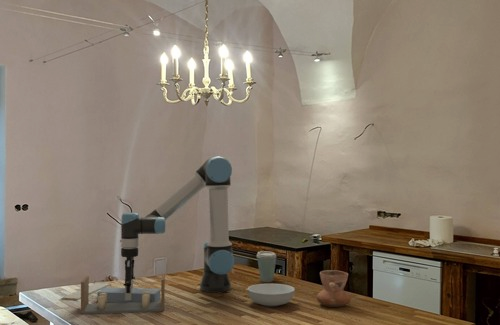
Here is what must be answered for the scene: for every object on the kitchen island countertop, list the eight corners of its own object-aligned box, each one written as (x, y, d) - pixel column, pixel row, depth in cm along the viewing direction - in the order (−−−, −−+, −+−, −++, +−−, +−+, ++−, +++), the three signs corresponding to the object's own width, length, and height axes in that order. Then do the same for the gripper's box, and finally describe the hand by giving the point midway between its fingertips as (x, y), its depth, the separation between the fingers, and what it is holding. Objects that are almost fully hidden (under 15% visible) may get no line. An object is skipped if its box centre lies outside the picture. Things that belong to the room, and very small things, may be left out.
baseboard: (57, 300, 232) (77, 301, 230) (57, 294, 232) (77, 295, 230) (92, 285, 262) (110, 286, 259) (92, 279, 262) (110, 280, 259)
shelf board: (105, 297, 237) (105, 287, 237) (160, 299, 234) (160, 289, 234) (97, 302, 228) (97, 292, 228) (154, 304, 225) (154, 294, 225)
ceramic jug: (348, 311, 215) (349, 277, 215) (314, 308, 219) (314, 274, 219) (351, 301, 232) (352, 269, 233) (319, 298, 236) (320, 267, 236)
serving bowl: (299, 300, 233) (299, 285, 233) (287, 312, 213) (287, 295, 213) (256, 296, 240) (256, 281, 240) (240, 307, 220) (240, 291, 220)
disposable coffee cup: (280, 280, 272) (280, 252, 272) (267, 284, 264) (268, 254, 264) (265, 277, 279) (265, 250, 279) (252, 281, 270) (252, 252, 271)
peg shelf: (85, 306, 221) (85, 275, 221) (164, 303, 226) (164, 273, 226) (80, 314, 209) (80, 282, 209) (164, 311, 214) (164, 279, 214)
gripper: (123, 243, 242) (123, 291, 242) (118, 251, 220) (118, 303, 220) (139, 243, 243) (139, 290, 243) (136, 251, 221) (136, 303, 221)
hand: (129, 296), depth 231 cm, fingers closed on shelf board, 10 cm apart
